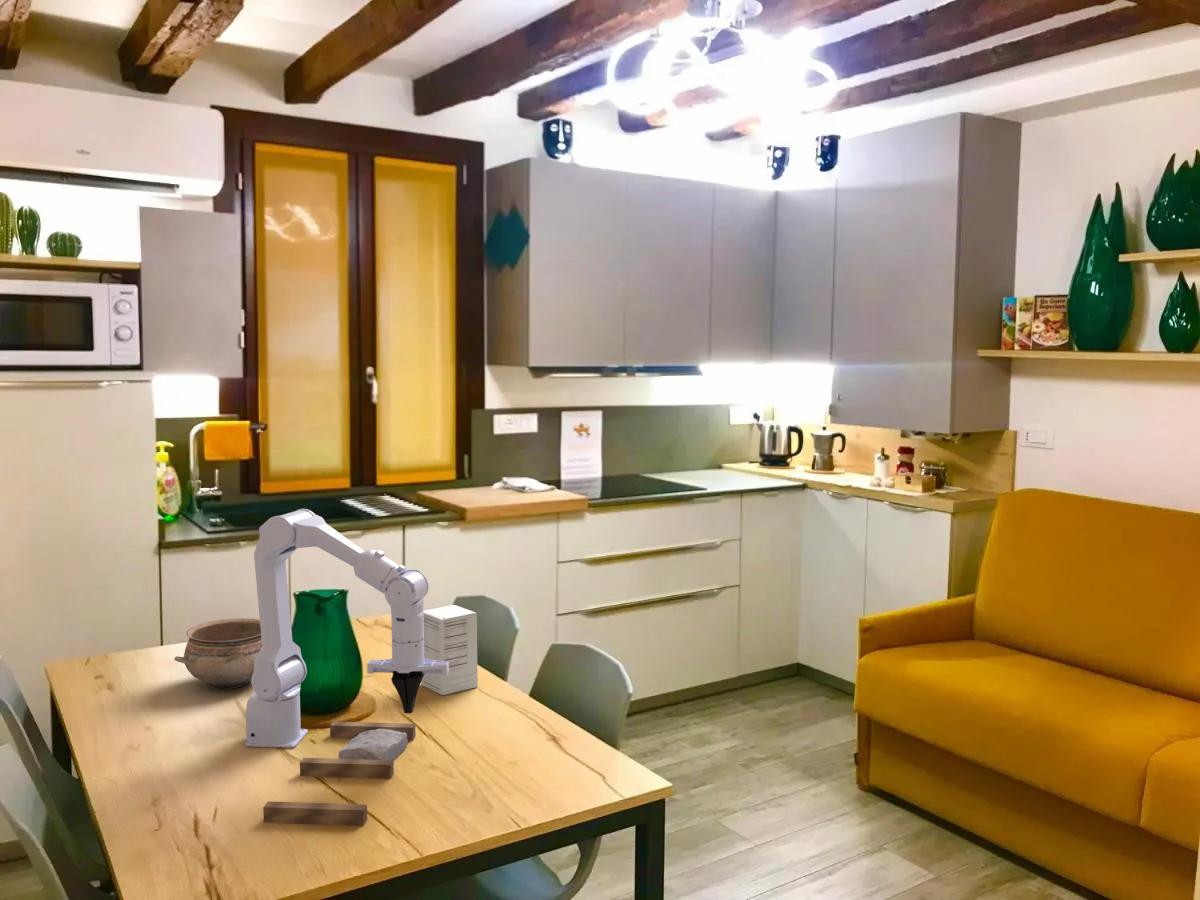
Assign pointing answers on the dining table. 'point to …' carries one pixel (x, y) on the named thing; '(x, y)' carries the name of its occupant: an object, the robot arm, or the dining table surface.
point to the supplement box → (451, 648)
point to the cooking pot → (223, 651)
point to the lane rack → (337, 768)
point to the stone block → (375, 745)
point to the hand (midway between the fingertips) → (409, 711)
